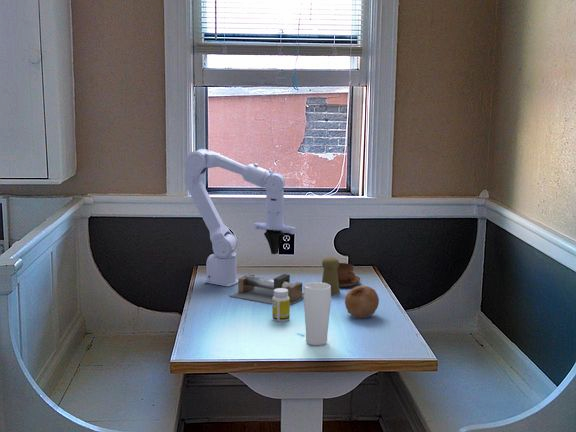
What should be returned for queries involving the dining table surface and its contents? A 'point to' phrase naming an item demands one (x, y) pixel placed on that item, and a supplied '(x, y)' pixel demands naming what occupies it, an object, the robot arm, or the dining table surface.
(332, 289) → the cork
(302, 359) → the dining table surface
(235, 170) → the robot arm
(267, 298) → the mat
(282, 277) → the dark grey upright slab
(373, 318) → the dining table surface
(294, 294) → the rod holder
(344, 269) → the cup and saucer
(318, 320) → the drinking glass
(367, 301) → the onion
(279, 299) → the supplement bottle
